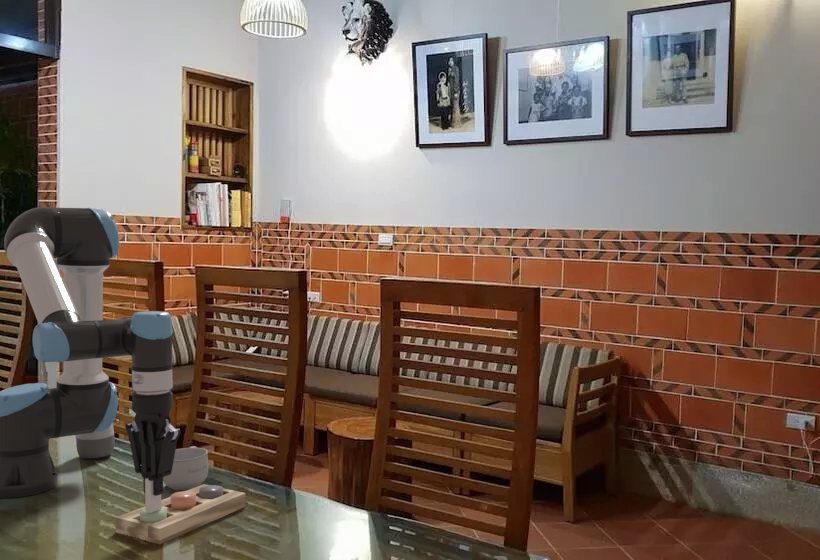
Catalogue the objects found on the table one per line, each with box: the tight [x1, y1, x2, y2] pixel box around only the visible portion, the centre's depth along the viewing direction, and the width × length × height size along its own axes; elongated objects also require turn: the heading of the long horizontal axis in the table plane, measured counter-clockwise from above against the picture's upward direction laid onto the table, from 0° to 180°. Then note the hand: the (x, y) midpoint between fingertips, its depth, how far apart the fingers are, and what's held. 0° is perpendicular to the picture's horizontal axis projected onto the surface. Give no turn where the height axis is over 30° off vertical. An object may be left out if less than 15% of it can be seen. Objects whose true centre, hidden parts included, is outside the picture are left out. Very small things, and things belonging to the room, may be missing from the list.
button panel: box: [115, 483, 246, 545], centre depth 158 cm, size 12×24×3 cm, turn 151°
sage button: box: [140, 507, 167, 524], centre depth 151 cm, size 5×5×3 cm
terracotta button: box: [170, 490, 196, 511], centre depth 158 cm, size 5×5×3 cm
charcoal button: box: [199, 484, 224, 500], centre depth 165 cm, size 5×5×3 cm
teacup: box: [163, 445, 209, 491], centre depth 180 cm, size 14×11×8 cm
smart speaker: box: [75, 423, 116, 461], centre depth 203 cm, size 10×9×14 cm
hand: (153, 510), depth 151 cm, fingers closed
